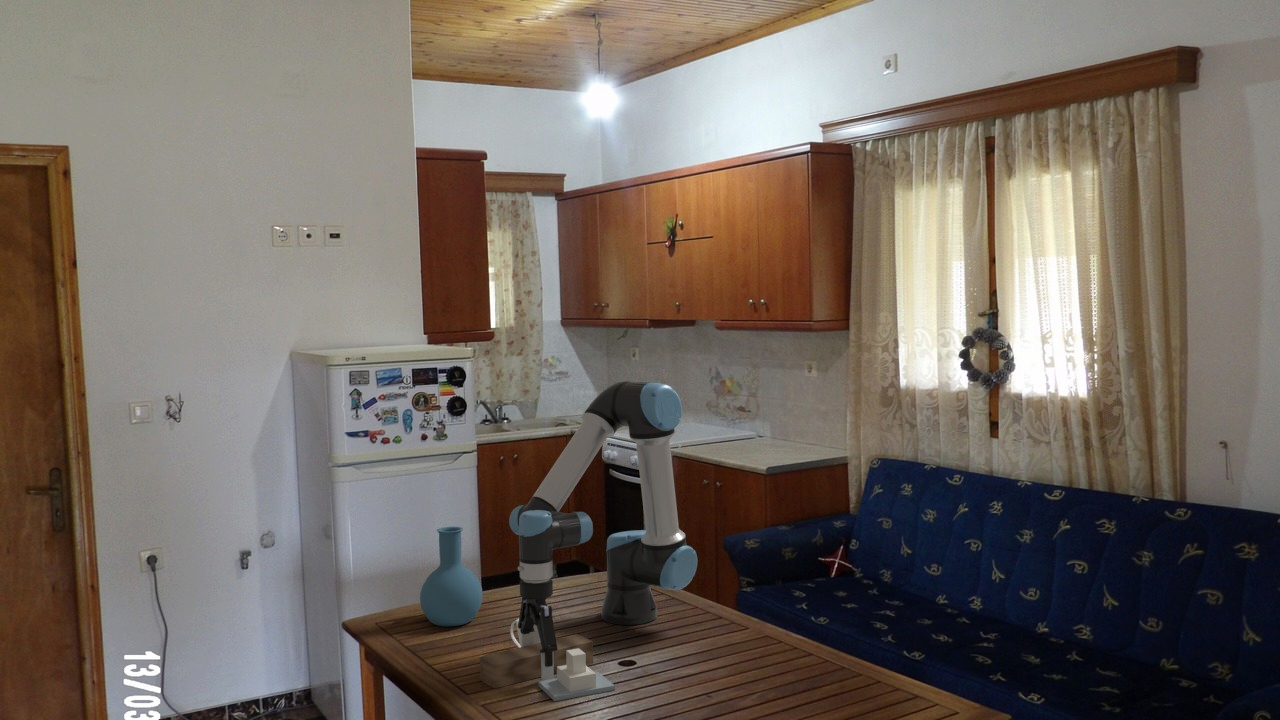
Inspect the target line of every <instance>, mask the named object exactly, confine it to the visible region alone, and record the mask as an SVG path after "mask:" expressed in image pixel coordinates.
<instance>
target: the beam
mask: <svg viewBox="0 0 1280 720" xmlns="http://www.w3.org/2000/svg"><path fill="white" fill-rule="evenodd" d="M556 643H557V651H553V657H554V674H557V666H563V665H566V650H572V649H578V648H579V649H580V650H582V651H583V652H584V653H585V654H586V666H587V665H592V664H594V641H593V640H591V639H589V638H586V637H584V636H582V635H581V634H578V633H575V634H572V635H567V636H563V637H559V638H556ZM549 646H550V645H549ZM541 649H542V646H541V643H537V644H533V645H529V646H524V647H520V648H518V647H517V648H513V649H508V650H504V651H500V652H499V651H498V652H496V653H495V652H494V653H491V654H487V655H482V656H479V679H480V681H482V682H483V683H484V684H486V685H488V686H490V687H491V688H494V689H499V688H503V687H506V686H511V685H514V684H518V683H521V682H525V681H530V680H533V679H538V678H541V653H540V650H541Z"/></svg>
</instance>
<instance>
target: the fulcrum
mask: <svg viewBox="0 0 1280 720" xmlns="http://www.w3.org/2000/svg"><path fill="white" fill-rule="evenodd" d="M538 687H539V688H540V689H541V690H542V691H543V692H544V693H545V694H546V695H547V696H548V697H550V699H552V700H553V701H554V702H557V701H563V700H568V699H573V698H574V699H575V698H580V697H585V696H590V695H595V694H600V693H605V692H611V691H615V690H616V685H615V684H614V683H613V682H611V681H610V680H608V679H607V678H606V677H605V676H604V675H603V674H601V673H600V672H599V671H597V670H596V671H594V670H592V669H591V668H590V667H588V666H587V665H586V654H585V653H584V652H583V651H582V650H580V649H579V648H578V649H572V650H566V665H563V666H557V673H556V678H555V677H554V679H550V680H544V681H542V680H539V681H538Z"/></svg>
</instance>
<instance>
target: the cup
mask: <svg viewBox="0 0 1280 720" xmlns="http://www.w3.org/2000/svg"><path fill="white" fill-rule="evenodd" d="M518 622H519V617H518V618H517V619H516V620H514V621H512V622H511V624H510V628H509V629H510V632H509V633H510V638H511V640H512V641H513V643H514V644H515V645H516V646H517V648H520V647H522V634H521V632H520V629H519V628H518ZM522 623H523V622H522ZM515 624H516V625H515ZM514 626H515V627H516V630H517V637H518V640H519V642H518V640H517V639H516V637H515V634H514ZM533 628H534V632H530V633H533V638H534V644H537V643H541V642H540V638H539V633H538V629H537V626H536V625H535V624H534V626H533Z"/></svg>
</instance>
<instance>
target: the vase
mask: <svg viewBox="0 0 1280 720" xmlns="http://www.w3.org/2000/svg"><path fill="white" fill-rule="evenodd" d="M463 530H464V528H463V527H461V526H444V527H440V528H437V529H436V531H437V532H438V545H439V546H438V548H439V549H438V550H439V551H438V552H439V565H438V566H437V568H436V569H435V570H433V571H432V572H430V574H429V575H428V576H427V578H426V579H425V580H424V582H423V584H422V586H421V590H420V593H419V595H420V596H419V600H420V601H419V602H420V608H421V610H422V612H423V613H424V615H425V616H426V618H427V619H428V621H429V622H430V623H432V624H433V625H435V626H439V627H445V628H447V627H458V626H459V627H460V626H463V625H466V624H468V623H470V622H471V621H473V619H474V618H475V617H476V615H477V614H478V612H479V610H480V608H481V606H482V603H483V587H482V584H481V582H480V580H479V578H477V576H476V575H475V574H474V573H473V571H472V570H470V569H469V568H467V567H465V566H464V564H462V531H463Z"/></svg>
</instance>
